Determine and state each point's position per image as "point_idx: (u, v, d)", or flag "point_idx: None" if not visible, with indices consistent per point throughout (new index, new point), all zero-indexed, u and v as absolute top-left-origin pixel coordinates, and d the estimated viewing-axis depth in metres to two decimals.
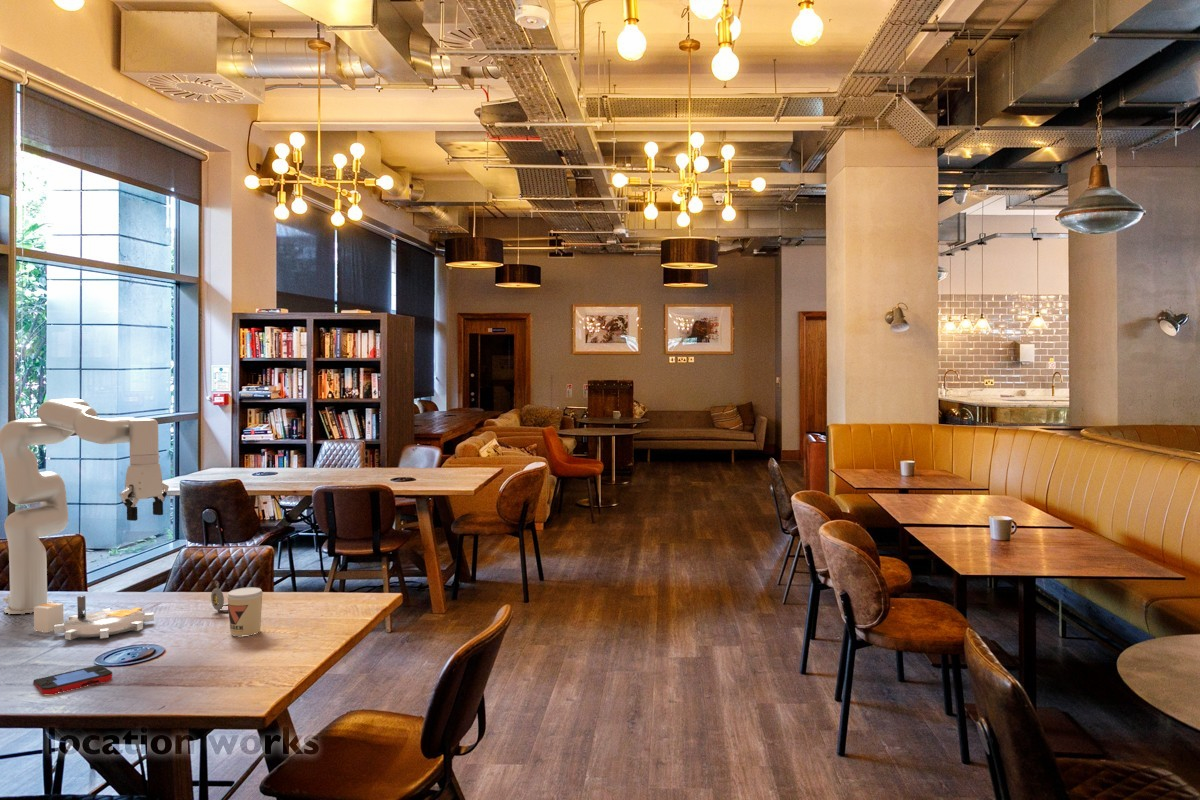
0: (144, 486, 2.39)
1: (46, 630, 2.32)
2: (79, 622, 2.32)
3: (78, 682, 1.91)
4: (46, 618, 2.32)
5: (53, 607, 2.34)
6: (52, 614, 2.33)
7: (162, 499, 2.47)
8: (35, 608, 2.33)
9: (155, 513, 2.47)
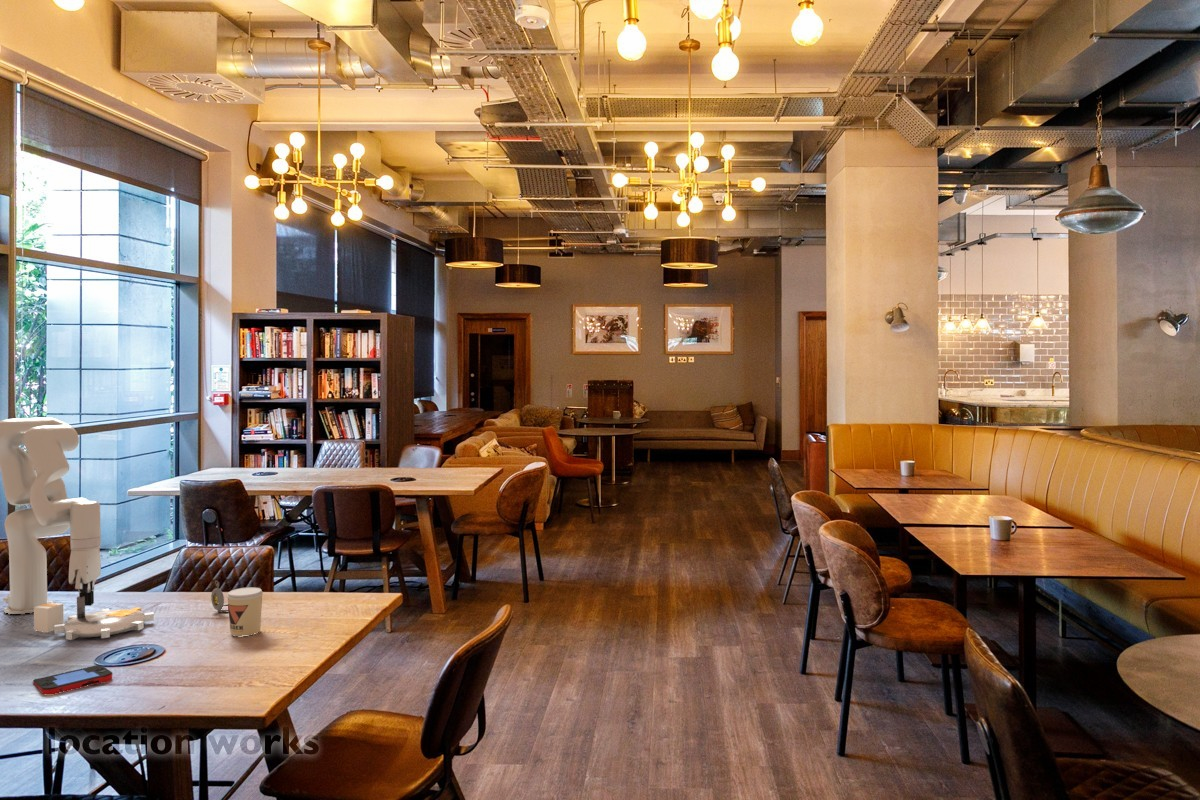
0: (90, 569, 2.38)
1: (46, 630, 2.32)
2: (79, 622, 2.32)
3: (78, 682, 1.91)
4: (46, 618, 2.32)
5: (53, 607, 2.34)
6: (52, 614, 2.33)
7: (92, 588, 2.41)
8: (35, 608, 2.33)
9: None
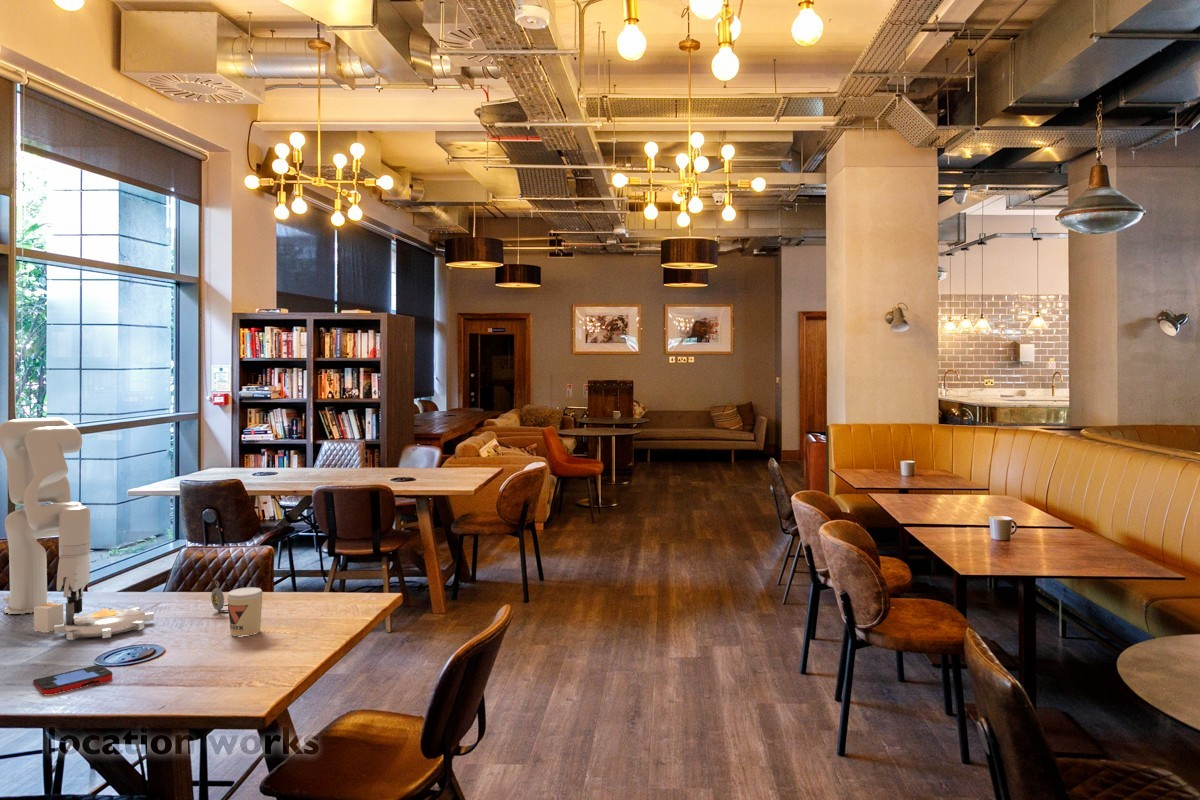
0: (79, 576, 2.31)
1: (46, 630, 2.32)
2: (87, 625, 2.29)
3: (78, 682, 1.91)
4: (46, 618, 2.32)
5: (53, 607, 2.34)
6: (52, 614, 2.33)
7: (81, 595, 2.35)
8: (35, 608, 2.33)
9: None
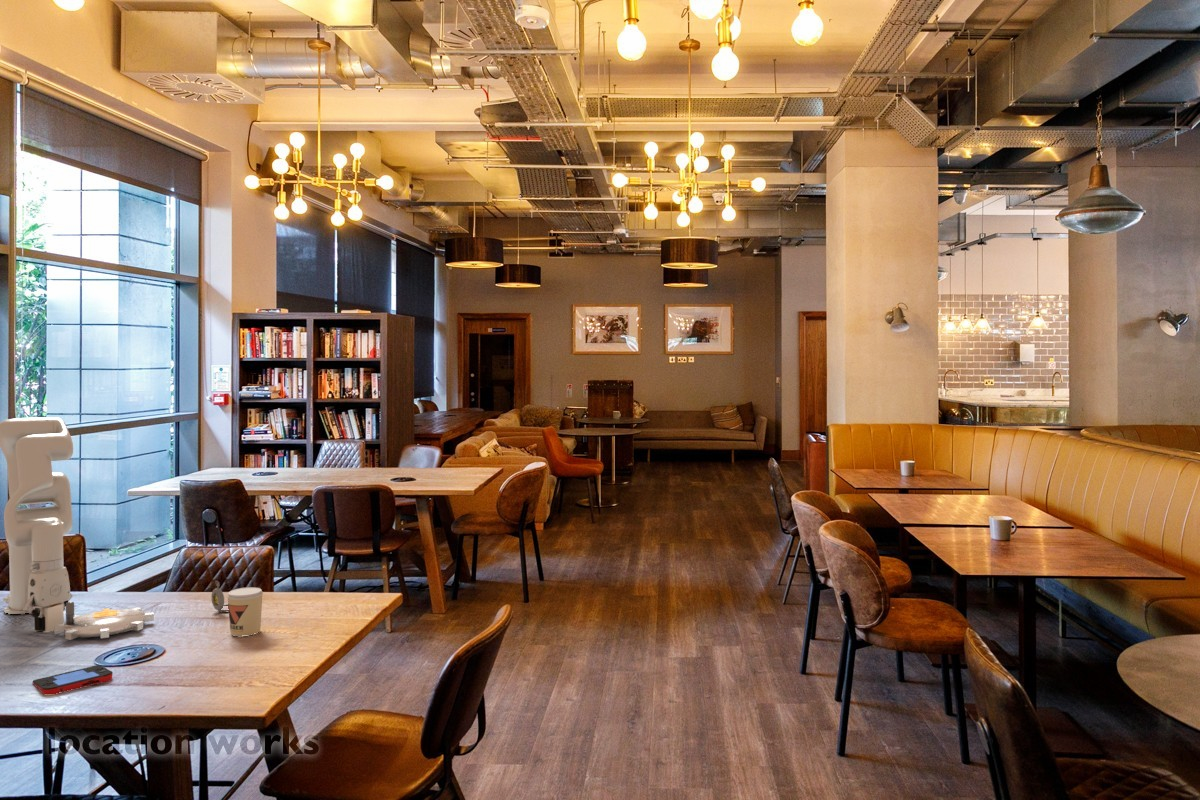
0: None
1: (46, 630, 2.32)
2: (86, 625, 2.29)
3: (79, 682, 1.91)
4: (46, 618, 2.32)
5: (53, 607, 2.34)
6: (52, 614, 2.33)
7: None
8: None
9: None
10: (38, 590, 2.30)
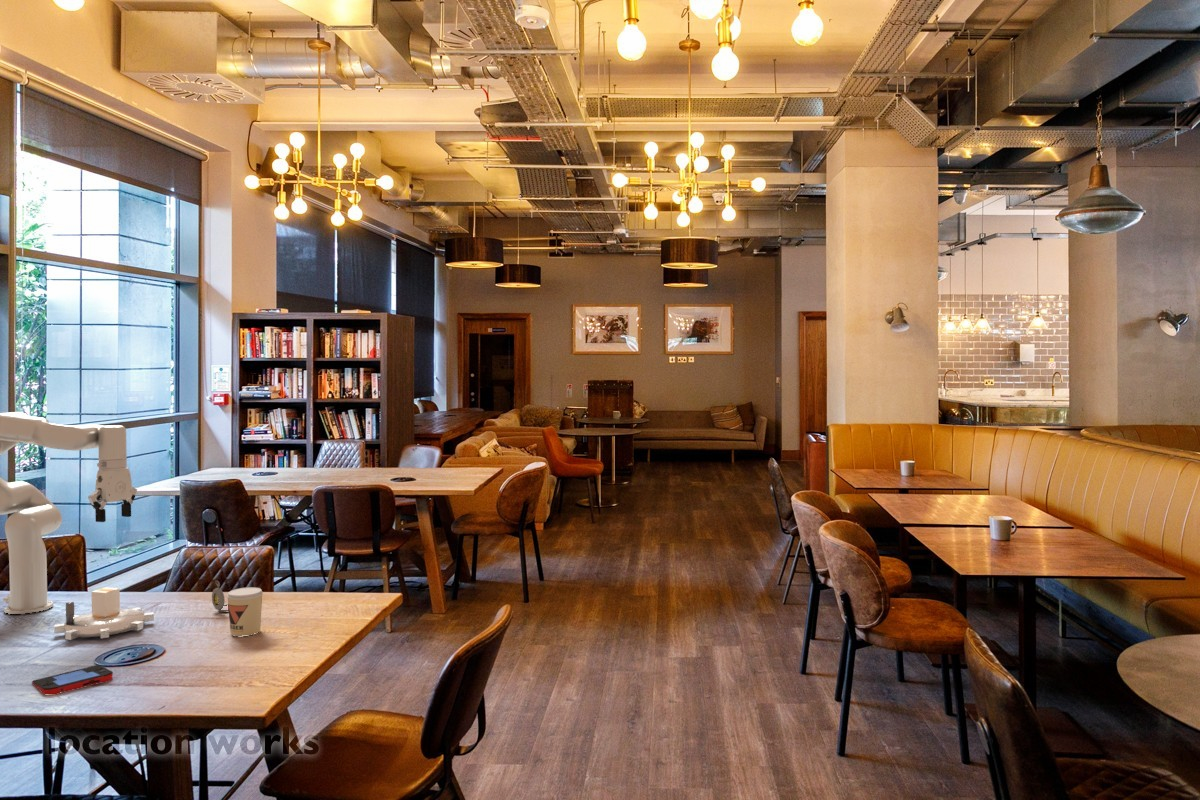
0: None
1: (104, 614, 2.37)
2: (86, 625, 2.29)
3: (79, 682, 1.91)
4: (104, 602, 2.37)
5: (110, 592, 2.39)
6: (109, 599, 2.38)
7: None
8: (93, 592, 2.38)
9: None
10: (105, 486, 2.50)
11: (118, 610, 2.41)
